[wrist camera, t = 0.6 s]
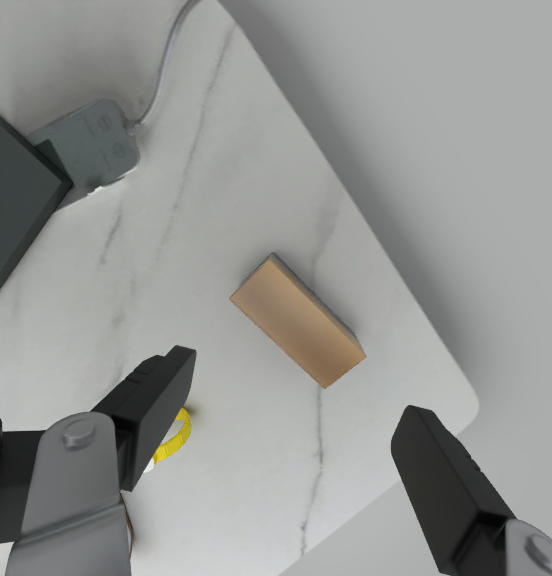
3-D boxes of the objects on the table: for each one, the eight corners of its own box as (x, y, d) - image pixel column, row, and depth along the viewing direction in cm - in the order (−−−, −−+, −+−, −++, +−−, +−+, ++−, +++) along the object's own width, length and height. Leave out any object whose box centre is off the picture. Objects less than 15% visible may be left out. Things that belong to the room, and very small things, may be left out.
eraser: (273, 252, 23) (269, 258, 19) (355, 335, 25) (367, 357, 21) (239, 286, 24) (228, 299, 20) (320, 364, 26) (324, 389, 22)
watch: (195, 399, 28) (170, 447, 22) (200, 421, 29) (176, 472, 23) (142, 402, 29) (104, 449, 23) (148, 424, 29) (112, 474, 23)
